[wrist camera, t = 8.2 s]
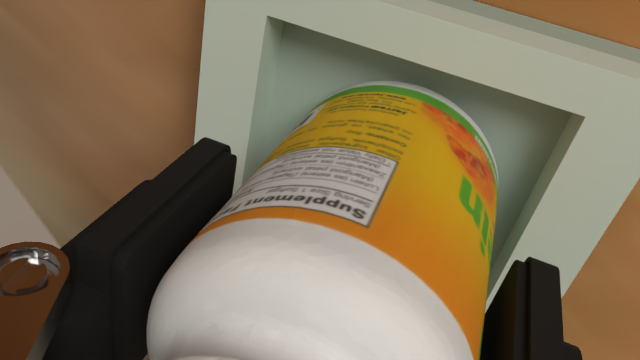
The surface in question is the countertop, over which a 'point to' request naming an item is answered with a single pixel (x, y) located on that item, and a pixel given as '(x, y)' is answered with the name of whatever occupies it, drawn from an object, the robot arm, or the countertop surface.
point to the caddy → (456, 85)
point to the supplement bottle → (344, 241)
